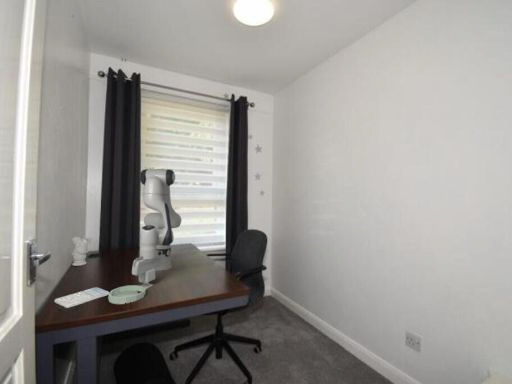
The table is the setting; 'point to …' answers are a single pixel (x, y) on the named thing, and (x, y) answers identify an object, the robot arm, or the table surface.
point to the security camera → (148, 278)
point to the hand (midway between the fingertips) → (147, 278)
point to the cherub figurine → (80, 250)
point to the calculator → (81, 297)
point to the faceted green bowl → (126, 294)
